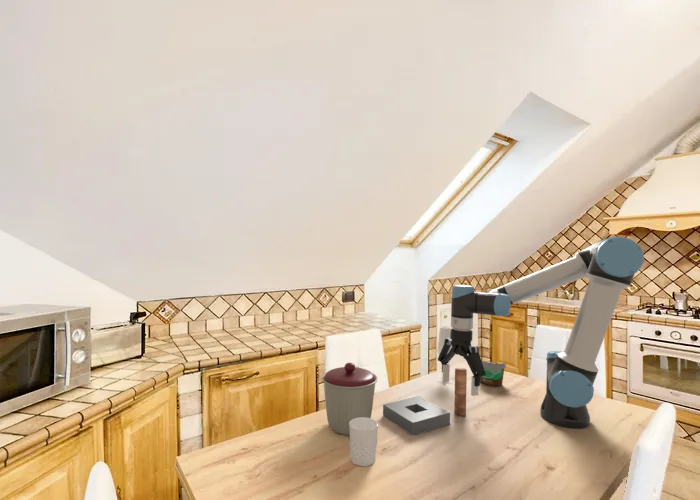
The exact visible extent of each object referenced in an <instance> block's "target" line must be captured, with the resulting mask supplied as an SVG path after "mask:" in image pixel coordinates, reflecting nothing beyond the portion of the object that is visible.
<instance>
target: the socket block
mask: <svg viewBox="0 0 700 500" xmlns="http://www.w3.org/2000/svg"><path fill="white" fill-rule="evenodd" d="M382 416H383V417H384V418H386V419H387V420H388V421H389V422H392V423H393V424H395V425H396V426H397V427H399V428H401V429H402V430H403V431H405V432H407V434H410V435H411V436H416V435H418V434H422V433H425V432H429V431H432V430H436V429H439V428H443V427H446V426H448V425H449V426H450V425H451V412H450V411H448V410H446V409H444V408H443V407H440V406H438V405H436V404H434V403H433V402H431V401H429V400H426V399H425V398H423V397H421V396H419V395H417V396H412V397H408V398H404V399H401V400H396V401H391V402H388V403H383V404H382Z"/></svg>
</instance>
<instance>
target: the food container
mask: <svg viewBox="0 0 700 500" xmlns="http://www.w3.org/2000/svg"><path fill="white" fill-rule="evenodd" d="M481 361H482V364H483V367H484V370H485V373H486V375H485V376H482V377H480V385H483V386H485V387H489V388H500V387H502V386H503V380H504V373H505V369H506V368H507V365H506V362H503V363H498V362H494V361H485V360H481Z"/></svg>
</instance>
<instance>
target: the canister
mask: <svg viewBox="0 0 700 500" xmlns="http://www.w3.org/2000/svg"><path fill="white" fill-rule="evenodd" d="M378 380H379V379H378V376H377V375H376V374H375V373H373V372H372V371H370V370H368V369H366V368H362V367H358V366H356V365H355V364H354V363H353V362H346V363H345V365H344V366H342V367H336V368H332V369H330V370H328V371H327V372H325V373H323V374H322V375H321V381H322V382H323V388H324V390H323V391H324V400H325V401H324V402H325V411H326V418H327V423H328V426H329V428H330V430H332V431H333V432H334V433H336V434H339V435H344V436H350V430H349V423H350V421H351V420H352V419H355V418H360V417H366V418H371V419H372V414H373V413H372V412H373V411H372V410H373V406H374V405H373V404H374V397H375V389H376V383H377V382H378Z"/></svg>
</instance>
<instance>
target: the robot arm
mask: <svg viewBox="0 0 700 500" xmlns="http://www.w3.org/2000/svg"><path fill="white" fill-rule="evenodd" d="M644 260H645V254H644V250H643V249H642V247H641V246H640V244H638V243H637V242H636V241H634V240H632V239H631V238H628V237H624V236H618V235H617V236H610V237H607V238H603V239H600V240H598V241H597V242H595V243H593V244H592V245H590V246H588V247H586V248H584V249H582V250H580V251H578V252H576V253H575V255H574V256H573V257H570V258H568V259H565V260H563V261H560V262H558V263H555V264H554V265H551V266H548V267H546V268H545V267H544V269H541V270H538V271H535V272H533V273H531V274H528V275H526V276H523V277H520V278H518V279H516V280H513V281H511V282H508V283H506V284H504V285H501V286H499V287H496V288H492V289H490V290H488V291H487V292H480V291H479V292H478V291H475V287H474V286H473V285H466V284H456V285H453V287H452V291H451V301H450V302H451V303H450V305H451V308H450V309H451V310H450V311H451V312H450V327H451V333H450V338H447V339H445V342H444V346H443V348H442V350H441V352H440V355H439V354H438V358H437V361H438V362H440V364H441V373H442V377H443V378H442V377H441V378H442V382H443V383H442V384H444V383H446V382H449V379H450V372H451V370H450V368H451V367H450V366H451V365H450V361H452V359H453V358H454V357H455V355H457V356H458V355H459V356H460V357H463V359H465V362H466V363H467V365H468V367H469V369H470V371H471V373H472V376H471V385H470V386H471V387H470V396H472V397H474V396H478V395H479V388H480V387H481V383H480V377H482V376H485V375H486V373H485V370H484V367H483V364H482V361H483V360H482V357H481V355H480V349H479V346H478V345H475V346H473V345H472V341H473V333H474V332H473V329H474V314H475V315H476V314H477V315H479V314H480V315H487V316H488V315H489V316H497V317H508V316H510V314H511V306H512V305H515V304H517V303H519V302H520V303H521V302H523V301H525V300H528V299H531V298H533V297H536V296H538V295H541V294H543V293H546V292H549V291H551V290H554V289H557V288H560V287H562V286H566V285H568V284H570V283H572V282H575V281H578V280H581V279H583V278H588V279H589V282H588V285H587V288H586V290H585V293H584V296H583V298H582V301H581V304H580V307H579V310H578V313H577V315H576V317H575V320H574V323H573V326H572V329H571V332H570V335H569V338H568V340H567V343H566V346H565V348H564V351H561V350H560V351H557V350H550V351H548V352H547V353H546V358H545V359H546V360H545V361H546V386H545V387H546V390H545V395H544V398H543V400H542V403H541V405H540V412H539V413H540V417H542V418H543V419H544V420H546V421H548V422H550V423H551V424H555V425H558V426H561V427H564V428H565V427H566V428H572V429H583V428H588V427H590V424H591V417H590V413H589V410H588V407H587V405H588V404H589V403H590V402H591V401H592V399H593V397H594V391H595V388H594V383H595V381H596V378H597V376H598V373H599V369H598V368H599V367H597V365H596V361H597V359H598V356H599V354H600V353H599V352H600V350H601V348H602V344H603V342H604V338H605V336H606V333H607V331H608V329H609V325H610V323H611V321H612V318H613V316H614V313H615V309H616V307H617V304H618V302H619V298H621V294H622V291H624V290H626V289H627V288H630V287H631V284H632V282H633V280H634V277H635V274H636V273H637V272H638V271H639V270H641V268H642V266H643V265H644ZM451 345H452V348H451V349H450V347H451ZM449 349H450V350H449ZM448 351H449V353H448ZM447 353H448V354H447Z"/></svg>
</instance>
